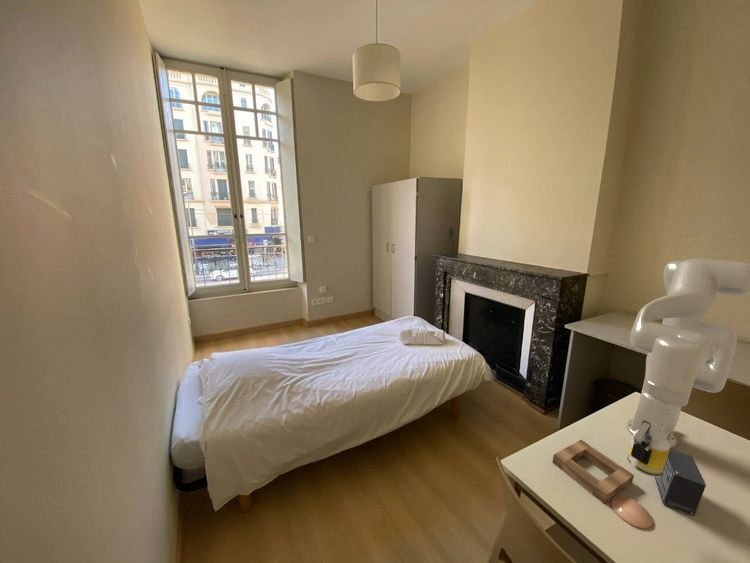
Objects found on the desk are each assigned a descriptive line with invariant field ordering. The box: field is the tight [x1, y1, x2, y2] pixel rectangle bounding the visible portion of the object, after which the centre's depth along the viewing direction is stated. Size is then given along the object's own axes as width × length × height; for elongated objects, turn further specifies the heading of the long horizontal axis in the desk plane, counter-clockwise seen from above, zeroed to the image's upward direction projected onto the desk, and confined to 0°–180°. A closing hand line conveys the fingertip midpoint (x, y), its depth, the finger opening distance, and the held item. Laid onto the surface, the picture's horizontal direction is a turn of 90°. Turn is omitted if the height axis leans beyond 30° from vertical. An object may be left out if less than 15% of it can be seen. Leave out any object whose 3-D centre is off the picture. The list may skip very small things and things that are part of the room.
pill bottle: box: [626, 429, 671, 478], centre depth 72 cm, size 6×6×12 cm
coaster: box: [610, 495, 653, 530], centre depth 77 cm, size 8×8×1 cm
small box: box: [654, 448, 707, 517], centre depth 80 cm, size 11×6×10 cm, turn 148°
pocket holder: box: [552, 439, 635, 505], centre depth 88 cm, size 14×14×3 cm
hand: (647, 453), depth 72 cm, fingers closed on pill bottle, 6 cm apart
